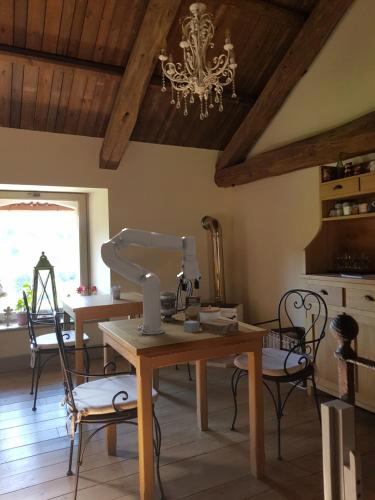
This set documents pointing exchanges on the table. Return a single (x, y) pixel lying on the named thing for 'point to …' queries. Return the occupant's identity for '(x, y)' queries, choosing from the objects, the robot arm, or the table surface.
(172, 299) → the apothecary jar
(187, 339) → the table surface
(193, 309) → the coffee box
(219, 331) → the walnut block
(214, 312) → the lidded bowl
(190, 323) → the slate block
